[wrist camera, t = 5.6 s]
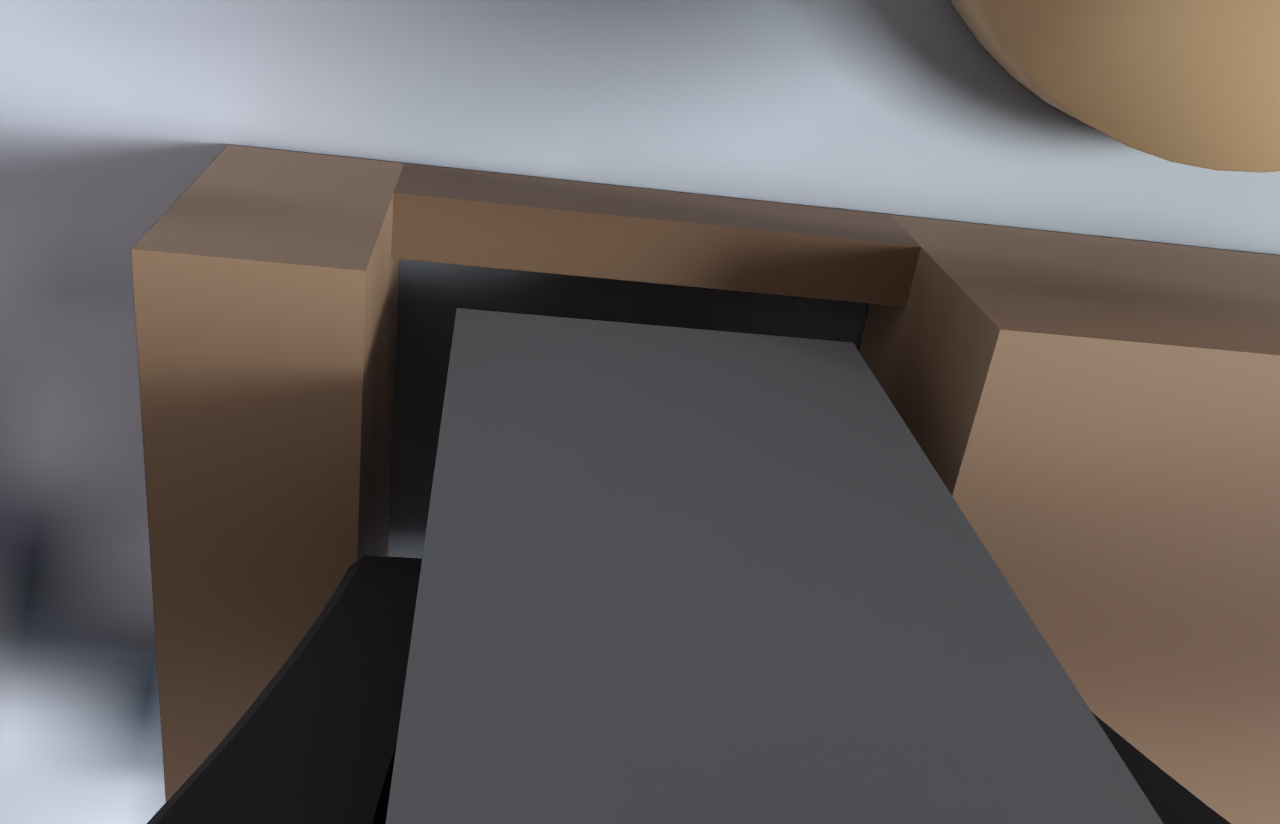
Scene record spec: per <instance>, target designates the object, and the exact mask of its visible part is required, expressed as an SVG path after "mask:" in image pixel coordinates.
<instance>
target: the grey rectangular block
mask: <svg viewBox="0 0 1280 824" xmlns="http://www.w3.org/2000/svg"><path fill="white" fill-rule="evenodd" d="M386 824H1163V822H1162V821H1161V819H1160V817H1159V816H1158V814H1157V813H1156V811H1155V810H1154V808H1153V807H1152V805H1151V803H1150V802H1149V800H1148V799H1147V797H1146V796H1145V794H1144V793H1143V791H1142V790H1141V788H1140V786H1139V785H1138V783H1137V782H1136V780H1135V779H1134V777H1133V776H1132V774H1131V773H1130V771H1129V769H1128V768H1127V766H1126V765H1125V763H1124V762H1123V760H1122V759H1121V757H1120V755H1119V754H1118V752H1117V751H1116V749H1115V748H1114V746H1113V745H1112V743H1111V742H1110V740H1109V738H1108V737H1107V735H1106V734H1105V732H1104V731H1103V729H1102V728H1101V726H1100V724H1099V723H1098V721H1097V720H1096V718H1095V717H1094V715H1093V714H1092V712H1091V711H1090V709H1089V707H1088V706H1087V704H1086V703H1085V701H1084V700H1083V698H1082V697H1081V695H1080V693H1079V692H1078V690H1077V689H1076V687H1075V686H1074V684H1073V683H1072V681H1071V680H1070V678H1069V676H1068V675H1067V673H1066V672H1065V670H1064V669H1063V667H1062V666H1061V664H1060V663H1059V661H1058V659H1057V658H1056V656H1055V655H1054V653H1053V652H1052V650H1051V649H1050V647H1049V645H1048V644H1047V642H1046V641H1045V639H1044V638H1043V636H1042V635H1041V633H1040V632H1039V630H1038V628H1037V627H1036V625H1035V624H1034V622H1033V621H1032V619H1031V618H1030V616H1029V614H1028V613H1027V611H1026V610H1025V608H1024V607H1023V605H1022V604H1021V602H1020V601H1019V599H1018V597H1017V596H1016V594H1015V593H1014V591H1013V590H1012V588H1011V587H1010V585H1009V584H1008V582H1007V580H1006V579H1005V577H1004V576H1003V574H1002V573H1001V571H1000V570H999V568H998V566H997V565H996V563H995V562H994V560H993V559H992V557H991V556H990V554H989V553H988V551H987V549H986V548H985V546H984V545H983V543H982V542H981V540H980V539H979V537H978V535H977V534H976V532H975V531H974V529H973V528H972V526H971V525H970V523H969V522H968V520H967V518H966V517H965V515H964V514H963V512H962V511H961V509H960V508H959V506H958V504H957V503H956V501H955V500H954V498H953V497H952V495H951V494H950V492H949V491H948V489H947V487H946V486H945V484H944V483H943V481H942V480H941V478H940V477H939V475H938V474H937V472H936V470H935V469H934V467H933V466H932V464H931V463H930V461H929V460H928V458H927V456H926V455H925V453H924V452H923V450H922V449H921V447H920V446H919V444H918V443H917V441H916V439H915V438H914V436H913V435H912V433H911V432H910V430H909V429H908V427H907V425H906V424H905V422H904V421H903V419H902V418H901V416H900V415H899V413H898V412H897V410H896V408H895V407H894V405H893V404H892V402H891V401H890V399H889V398H888V396H887V394H886V393H885V391H884V390H883V388H882V387H881V385H880V384H879V382H878V381H877V379H876V377H875V376H874V374H873V373H872V371H871V370H870V368H869V367H868V365H867V364H866V362H865V360H864V359H863V357H862V356H861V354H860V353H859V351H858V350H857V348H856V346H855V345H854V343H853V342H841V341H830V340H818V339H807V338H795V337H784V336H772V335H761V334H749V333H738V332H726V331H715V330H703V329H692V328H680V327H669V326H657V325H645V324H634V323H622V322H611V321H599V320H588V319H576V318H565V317H553V316H542V315H530V314H519V313H507V312H496V311H484V310H473V309H461V308H457V309H456V317H455V324H454V331H453V338H452V346H451V353H450V360H449V367H448V375H447V382H446V389H445V396H444V404H443V411H442V418H441V425H440V433H439V440H438V447H437V455H436V462H435V469H434V476H433V484H432V491H431V498H430V505H429V513H428V520H427V527H426V534H425V542H424V549H423V556H422V563H421V571H420V578H419V585H418V592H417V600H416V607H415V614H414V622H413V629H412V636H411V643H410V651H409V658H408V665H407V672H406V680H405V687H404V694H403V701H402V709H401V716H400V723H399V730H398V738H397V745H396V752H395V759H394V767H393V774H392V781H391V789H390V796H389V803H388V810H387V818H386Z"/></svg>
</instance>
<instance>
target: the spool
mask: <svg viewBox="0 0 1280 824" xmlns="http://www.w3.org/2000/svg"><path fill="white" fill-rule="evenodd" d="M950 1H951V3H952V5H953V7H954V8H955V9H956V11H957V12H958V14H959V15H960V16H961V18H962V19H963V21H964V22H965V24H966V25H967V26H968V28H969V29H970V31H971V32H972V34H973V35H974V36H975V38H976V39H977V41H978V42H979V43H980V44H981V46H982V47H983V48H984V49H985V50H986V51H987V52H988V53H989V54H990V55H991V56H992V57H993V58H994V59H995V60H996V61H997V62H998V63H999V64H1000V65H1001V66H1002V67H1003V69H1004V70H1005V71H1006V72H1007V73H1008V74H1009V75H1010V76H1012V77H1013V78H1014V79H1015V80H1017V81H1018V82H1019V83H1021V84H1022V85H1023V86H1025V87H1026V88H1027V89H1029V90H1030V91H1031V92H1032V93H1034V94H1035V95H1036V96H1038V97H1039V98H1040V99H1042V100H1043V101H1044V102H1046V103H1048V104H1050V105H1052V106H1053V107H1055V108H1057V109H1059V110H1061V111H1063V112H1064V113H1066V114H1068V115H1070V116H1072V117H1074V118H1076V119H1077V120H1079V121H1081V122H1083V123H1085V124H1087V125H1089V126H1091V127H1093V128H1094V129H1096V130H1098V131H1100V132H1102V133H1104V134H1106V135H1108V136H1110V137H1112V138H1114V139H1115V140H1117V141H1119V142H1121V143H1123V144H1125V145H1127V146H1129V147H1131V148H1134V149H1137V150H1140V151H1143V152H1146V153H1148V154H1151V155H1154V156H1157V157H1160V158H1163V159H1165V160H1168V161H1171V162H1176V163H1181V164H1186V165H1191V166H1197V167H1202V168H1207V169H1212V170H1221V171H1244V172H1273V171H1280V0H950Z"/></svg>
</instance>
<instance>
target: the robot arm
mask: <svg viewBox="0 0 1280 824" xmlns="http://www.w3.org/2000/svg"><path fill="white" fill-rule="evenodd" d="M421 563H422V559H419V558H402V557H385V556H368V555H364V556H363V557H361V558H360V559H359V560H357V561H356V562H355V563H353V564H352V565H351V566H349V568H348V569H347V571H346V573H345V575H344V577H343V578H342V580H341V582H340V584H339V585H338V587H337V589H336V590H335V592H334V593H333V595H332V596H331V598H330V600H329V601H328V603H327V604H326V606H325V607H324V609H323V610H322V612H321V613H320V615H319V616H318V618H317V619H316V621H315V622H314V624H313V625H312V626H311V628H310V629H309V631H308V632H307V633H306V635H305V636H304V638H303V639H302V640H301V642H300V643H299V644H298V646H297V647H296V648H295V650H294V651H293V653H292V654H291V655H290V657H289V658H288V659H287V661H286V662H285V663H284V665H283V666H282V667H281V669H280V670H279V671H278V672H277V674H276V675H275V676H274V677H273V679H272V680H271V681H270V682H269V684H268V685H267V686H266V687H265V689H264V690H263V691H262V692H261V694H260V695H259V696H258V697H257V699H256V700H255V701H254V702H253V704H252V705H251V706H250V707H249V709H248V710H247V711H246V712H245V714H244V715H243V716H242V717H241V719H240V720H239V721H238V722H237V723H236V725H235V726H234V727H233V728H232V730H231V731H230V732H229V733H228V734H227V735H226V737H225V738H224V739H223V740H222V741H221V743H220V744H219V745H218V746H217V747H216V748H215V749H214V751H213V752H212V753H211V754H210V755H209V756H208V757H207V758H206V759H205V760H204V761H203V763H202V764H201V765H200V766H199V767H198V768H197V769H196V770H195V771H194V772H193V774H192V775H191V776H190V777H189V778H188V779H187V780H186V781H185V782H184V783H183V785H182V786H181V787H180V788H179V789H178V790H177V791H176V792H175V793H174V794H173V796H172V797H171V798H170V799H169V800H168V801H167V802H166V803H165V804H164V805H163V807H162V808H161V809H160V810H159V811H158V812H157V813H156V814H155V815H154V816H153V818H152V819H151V820H150V821H149V822H148V823H147V824H386V818H387V810H388V803H389V796H390V789H391V781H392V774H393V767H394V759H395V752H396V745H397V738H398V730H399V723H400V716H401V709H402V701H403V694H404V687H405V680H406V672H407V665H408V658H409V651H410V643H411V636H412V629H413V622H414V614H415V607H416V600H417V592H418V585H419V578H420V571H421ZM1091 712H1092V711H1091ZM1092 714H1093V715H1094V717H1095V718H1096V720H1097V721H1098V723H1099V724H1100V726H1101V728H1102V729H1103V731H1104V732H1105V734H1106V735H1107V737H1108V738H1109V740H1110V742H1111V743H1112V745H1113V746H1114V748H1115V749H1116V751H1117V752H1118V754H1119V755H1120V757H1121V759H1122V760H1123V762H1124V763H1125V765H1126V766H1127V768H1128V769H1129V771H1130V773H1131V774H1132V776H1133V777H1134V779H1135V780H1136V782H1137V783H1138V785H1139V786H1140V788H1141V790H1142V791H1143V793H1144V794H1145V796H1146V797H1147V799H1148V800H1149V802H1150V803H1151V805H1152V807H1153V808H1154V810H1155V811H1156V813H1157V814H1158V816H1159V817H1160V819H1161V821H1162V822H1163V824H1231V823H1230V822H1228V821H1227V820H1226V819H1224V818H1223V817H1222V816H1220V815H1219V814H1218V813H1216V812H1215V811H1214V810H1212V809H1211V808H1210V807H1208V806H1207V805H1206V804H1205V803H1203V802H1202V801H1201V800H1200V799H1198V798H1197V797H1196V796H1195V795H1193V794H1192V793H1191V792H1189V791H1188V790H1187V789H1186V788H1184V787H1183V786H1182V785H1181V784H1179V783H1178V782H1177V781H1176V780H1174V779H1173V778H1172V777H1171V776H1169V775H1168V774H1167V773H1166V772H1164V771H1163V770H1162V769H1161V768H1159V767H1158V766H1157V765H1156V764H1154V763H1153V762H1152V761H1151V760H1149V759H1148V758H1147V757H1146V756H1145V755H1143V754H1142V753H1141V752H1140V751H1138V750H1137V749H1136V748H1135V747H1134V746H1132V745H1131V744H1130V743H1129V742H1127V741H1126V740H1125V739H1124V738H1123V737H1121V736H1120V735H1119V734H1118V733H1117V732H1115V731H1114V730H1113V729H1112V728H1111V727H1109V726H1108V725H1107V724H1106V723H1105V722H1103V721H1102V720H1101V719H1100V718H1099V717H1097V716H1096V715H1095V714H1094V713H1093V712H1092Z"/></svg>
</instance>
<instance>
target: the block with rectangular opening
mask: <svg viewBox="0 0 1280 824" xmlns="http://www.w3.org/2000/svg"><path fill="white" fill-rule="evenodd" d="M131 257H132V273H133V288H134V304H135V320H136V336H137V352H138V368H139V384H140V399H141V415H142V431H143V447H144V463H145V479H146V495H147V511H148V526H149V542H150V558H151V574H152V590H153V606H154V622H155V637H156V653H157V669H158V685H159V701H160V717H161V733H162V748H163V764H164V780H165V796H166V802H167V801H168V800H169V799H170V798H171V797H172V796H173V794H174V793H175V792H176V791H177V790H178V789H179V788H180V787H181V786H182V785H183V783H184V782H185V781H186V780H187V779H188V778H189V777H190V776H191V775H192V774H193V772H194V771H195V770H196V769H197V768H198V767H199V766H200V765H201V764H202V763H203V761H204V760H205V759H206V758H207V757H208V756H209V755H210V754H211V753H212V752H213V751H214V749H215V748H216V747H217V746H218V745H219V744H220V743H221V741H222V740H223V739H224V738H225V737H226V735H227V734H228V733H229V732H230V731H231V730H232V728H233V727H234V726H235V725H236V723H237V722H238V721H239V720H240V719H241V717H242V716H243V715H244V714H245V712H246V711H247V710H248V709H249V707H250V706H251V705H252V704H253V702H254V701H255V700H256V699H257V697H258V696H259V695H260V694H261V692H262V691H263V690H264V689H265V687H266V686H267V685H268V684H269V682H270V681H271V680H272V679H273V677H274V676H275V675H276V674H277V672H278V671H279V670H280V669H281V667H282V666H283V665H284V663H285V662H286V661H287V659H288V658H289V657H290V655H291V654H292V653H293V651H294V650H295V648H296V647H297V646H298V644H299V643H300V642H301V640H302V639H303V638H304V636H305V635H306V633H307V632H308V631H309V629H310V628H311V626H312V625H313V624H314V622H315V621H316V619H317V618H318V616H319V615H320V613H321V612H322V610H323V609H324V607H325V606H326V604H327V603H328V601H329V600H330V598H331V596H332V595H333V593H334V592H335V590H336V589H337V587H338V585H339V584H340V582H341V580H342V578H343V577H344V575H345V573H346V571H347V569H348V568H349V566H351V565H352V564H353V563H355V562H356V561H357V560H359V559H360V558H361V557H363V556H364V555H368V556H385V557H387V548H388V525H389V502H390V479H391V456H392V432H393V409H394V386H395V363H396V340H397V317H398V293H399V270H400V259H404V260H414V261H425V262H435V263H446V264H457V265H467V266H478V267H489V268H499V269H510V270H520V271H531V272H542V273H552V274H563V275H573V276H584V277H595V278H605V279H616V280H627V281H637V282H648V283H658V284H669V285H680V286H690V287H701V288H711V289H722V290H733V291H743V292H754V293H765V294H775V295H786V296H796V297H807V298H818V299H828V300H839V301H850V302H860V303H870V305H869V309H868V313H867V318H866V322H865V326H864V331H863V335H862V339H861V343H860V348H859V353H860V354H861V356H862V357H863V359H864V360H865V362H866V364H867V365H868V367H869V368H870V370H871V371H872V373H873V374H874V376H875V377H876V379H877V381H878V382H879V384H880V385H881V387H882V388H883V390H884V391H885V393H886V394H887V396H888V398H889V399H890V401H891V402H892V404H893V405H894V407H895V408H896V410H897V412H898V413H899V415H900V416H901V418H902V419H903V421H904V422H905V424H906V425H907V427H908V429H909V430H910V432H911V433H912V435H913V436H914V438H915V439H916V441H917V443H918V444H919V446H920V447H921V449H922V450H923V452H924V453H925V455H926V456H927V458H928V460H929V461H930V463H931V464H932V466H933V467H934V469H935V470H936V472H937V474H938V475H939V477H940V478H941V480H942V481H943V483H944V484H945V486H946V487H947V489H948V491H949V492H950V494H951V495H952V497H953V498H954V500H955V501H956V503H957V504H958V506H959V508H960V509H961V511H962V512H963V514H964V515H965V517H966V518H967V520H968V522H969V523H970V525H971V526H972V528H973V529H974V531H975V532H976V534H977V535H978V537H979V539H980V540H981V542H982V543H983V545H984V546H985V548H986V549H987V551H988V553H989V554H990V556H991V557H992V559H993V560H994V562H995V563H996V565H997V566H998V568H999V570H1000V571H1001V573H1002V574H1003V576H1004V577H1005V579H1006V580H1007V582H1008V584H1009V585H1010V587H1011V588H1012V590H1013V591H1014V593H1015V594H1016V596H1017V597H1018V599H1019V601H1020V602H1021V604H1022V605H1023V607H1024V608H1025V610H1026V611H1027V613H1028V614H1029V616H1030V618H1031V619H1032V621H1033V622H1034V624H1035V625H1036V627H1037V628H1038V630H1039V632H1040V633H1041V635H1042V636H1043V638H1044V639H1045V641H1046V642H1047V644H1048V645H1049V647H1050V649H1051V650H1052V652H1053V653H1054V655H1055V656H1056V658H1057V659H1058V661H1059V663H1060V664H1061V666H1062V667H1063V669H1064V670H1065V672H1066V673H1067V675H1068V676H1069V678H1070V680H1071V681H1072V683H1073V684H1074V686H1075V687H1076V689H1077V690H1078V692H1079V693H1080V695H1081V697H1082V698H1083V700H1084V701H1085V703H1086V704H1087V706H1088V707H1089V709H1090V711H1092V712H1093V713H1094V714H1095V715H1096V716H1097V717H1099V718H1100V719H1101V720H1102V721H1103V722H1105V723H1106V724H1107V725H1108V726H1109V727H1111V728H1112V729H1113V730H1114V731H1115V732H1117V733H1118V734H1119V735H1120V736H1121V737H1123V738H1124V739H1125V740H1126V741H1127V742H1129V743H1130V744H1131V745H1132V746H1134V747H1135V748H1136V749H1137V750H1138V751H1140V752H1141V753H1142V754H1143V755H1145V756H1146V757H1147V758H1148V759H1149V760H1151V761H1152V762H1153V763H1154V764H1156V765H1157V766H1158V767H1159V768H1161V769H1162V770H1163V771H1164V772H1166V773H1167V774H1168V775H1169V776H1171V777H1172V778H1173V779H1174V780H1176V781H1177V782H1178V783H1179V784H1181V785H1182V786H1183V787H1184V788H1186V789H1187V790H1188V791H1189V792H1191V793H1192V794H1193V795H1195V796H1196V797H1197V798H1198V799H1200V800H1201V801H1202V802H1203V803H1205V804H1206V805H1207V806H1208V807H1210V808H1211V809H1212V810H1214V811H1215V812H1216V813H1218V814H1219V815H1220V816H1222V817H1223V818H1224V819H1226V820H1227V821H1228V822H1230V823H1231V824H1280V256H1279V255H1269V254H1260V253H1250V252H1241V251H1231V250H1222V249H1212V248H1203V247H1193V246H1184V245H1175V244H1165V243H1156V242H1146V241H1137V240H1127V239H1118V238H1108V237H1099V236H1089V235H1080V234H1070V233H1061V232H1051V231H1042V230H1032V229H1023V228H1013V227H1004V226H995V225H985V224H976V223H966V222H957V221H947V220H938V219H928V218H919V217H909V216H900V215H890V214H881V213H871V212H862V211H852V210H843V209H833V208H824V207H815V206H805V205H796V204H786V203H777V202H767V201H758V200H748V199H739V198H729V197H720V196H710V195H701V194H691V193H682V192H672V191H663V190H653V189H644V188H634V187H625V186H616V185H606V184H597V183H587V182H578V181H568V180H559V179H549V178H540V177H530V176H521V175H511V174H502V173H492V172H483V171H473V170H464V169H454V168H445V167H436V166H426V165H417V164H407V163H398V162H388V161H379V160H369V159H360V158H350V157H341V156H331V155H322V154H312V153H303V152H293V151H284V150H274V149H265V148H255V147H246V146H237V145H228V146H227V147H226V148H225V149H224V150H223V151H222V152H221V153H220V154H219V155H218V156H217V158H216V159H215V160H214V161H213V162H212V163H211V164H210V165H209V166H208V167H207V168H206V169H205V170H204V171H203V173H202V174H201V175H200V176H199V177H198V178H197V179H196V180H195V181H194V182H193V183H192V184H191V185H190V187H189V188H188V189H187V190H186V191H185V192H184V193H183V194H182V195H181V196H180V197H179V198H178V199H177V200H176V202H175V203H174V204H173V205H172V206H171V207H170V208H169V209H168V210H167V211H166V212H165V213H164V214H163V215H162V217H161V218H160V219H159V220H158V221H157V222H156V223H155V224H154V225H153V226H152V227H151V228H150V229H149V230H148V232H147V233H146V234H145V235H144V236H143V237H142V238H141V239H140V240H139V241H138V242H137V243H136V244H135V245H134V247H133V248H132V249H131Z"/></svg>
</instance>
